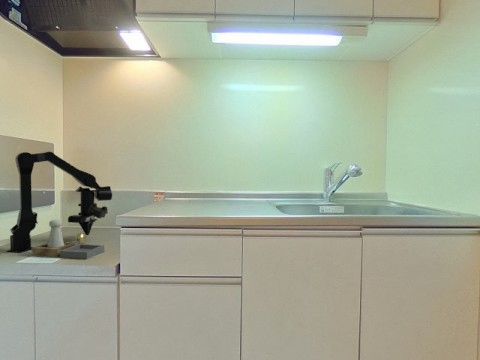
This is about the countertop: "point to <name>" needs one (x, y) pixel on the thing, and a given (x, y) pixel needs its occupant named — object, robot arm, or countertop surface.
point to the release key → (79, 238)
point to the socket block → (50, 250)
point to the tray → (82, 251)
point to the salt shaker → (55, 234)
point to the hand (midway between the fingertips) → (87, 235)
